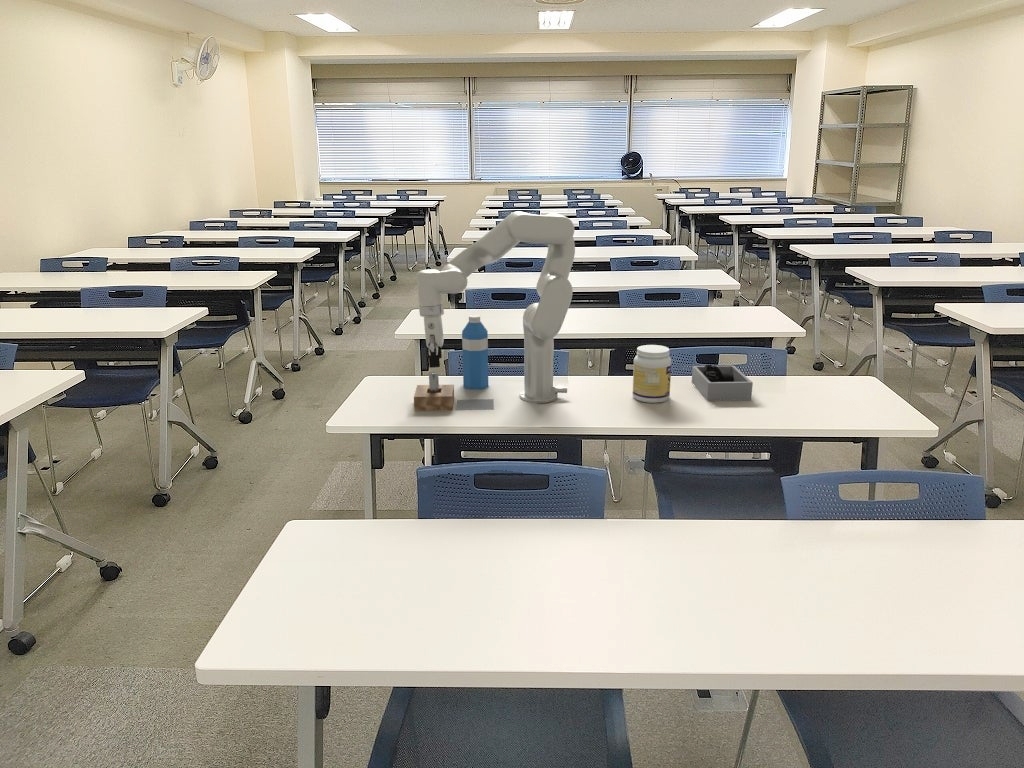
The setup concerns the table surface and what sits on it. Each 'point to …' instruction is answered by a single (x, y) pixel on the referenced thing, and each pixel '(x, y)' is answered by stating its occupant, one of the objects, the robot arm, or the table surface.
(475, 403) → the mat
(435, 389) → the peg
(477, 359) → the water bottle
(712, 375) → the film camera
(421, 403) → the socket block
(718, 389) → the tray
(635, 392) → the supplement tub
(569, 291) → the robot arm
